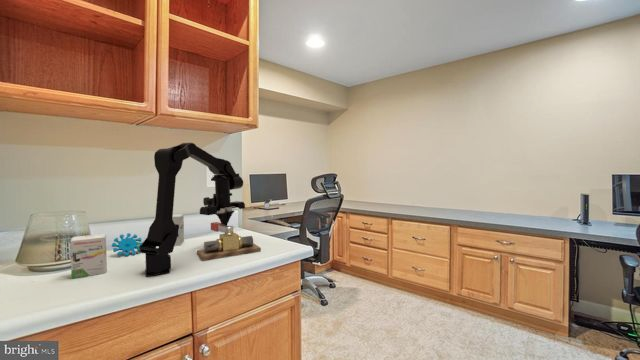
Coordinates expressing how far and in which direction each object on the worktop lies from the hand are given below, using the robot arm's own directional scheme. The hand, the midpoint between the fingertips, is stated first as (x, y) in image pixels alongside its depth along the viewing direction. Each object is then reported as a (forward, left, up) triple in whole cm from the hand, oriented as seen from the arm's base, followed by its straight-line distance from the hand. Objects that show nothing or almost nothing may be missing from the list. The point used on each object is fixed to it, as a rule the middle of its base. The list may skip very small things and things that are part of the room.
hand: (224, 228), depth 120 cm
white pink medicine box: (-43, -8, -8) cm, 45 cm away
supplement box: (-17, +18, -8) cm, 27 cm away
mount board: (0, -9, -8) cm, 12 cm away
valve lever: (-2, -4, -1) cm, 4 cm away
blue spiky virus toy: (-33, +11, -8) cm, 36 cm away
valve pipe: (0, -9, -8) cm, 12 cm away
